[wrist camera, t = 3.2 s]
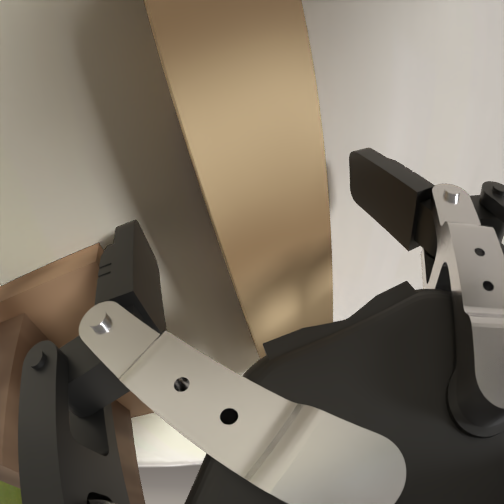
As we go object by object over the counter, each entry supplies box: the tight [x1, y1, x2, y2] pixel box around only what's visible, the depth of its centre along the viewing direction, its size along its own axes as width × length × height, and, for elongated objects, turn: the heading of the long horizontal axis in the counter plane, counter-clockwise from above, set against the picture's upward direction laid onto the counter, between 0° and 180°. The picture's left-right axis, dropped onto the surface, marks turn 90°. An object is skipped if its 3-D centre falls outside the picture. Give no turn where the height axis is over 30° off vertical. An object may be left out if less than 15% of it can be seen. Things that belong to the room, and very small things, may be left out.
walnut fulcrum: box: [0, 243, 154, 504], centre depth 11 cm, size 12×12×8 cm
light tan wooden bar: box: [144, 0, 333, 359], centre depth 10 cm, size 20×3×4 cm, turn 12°
